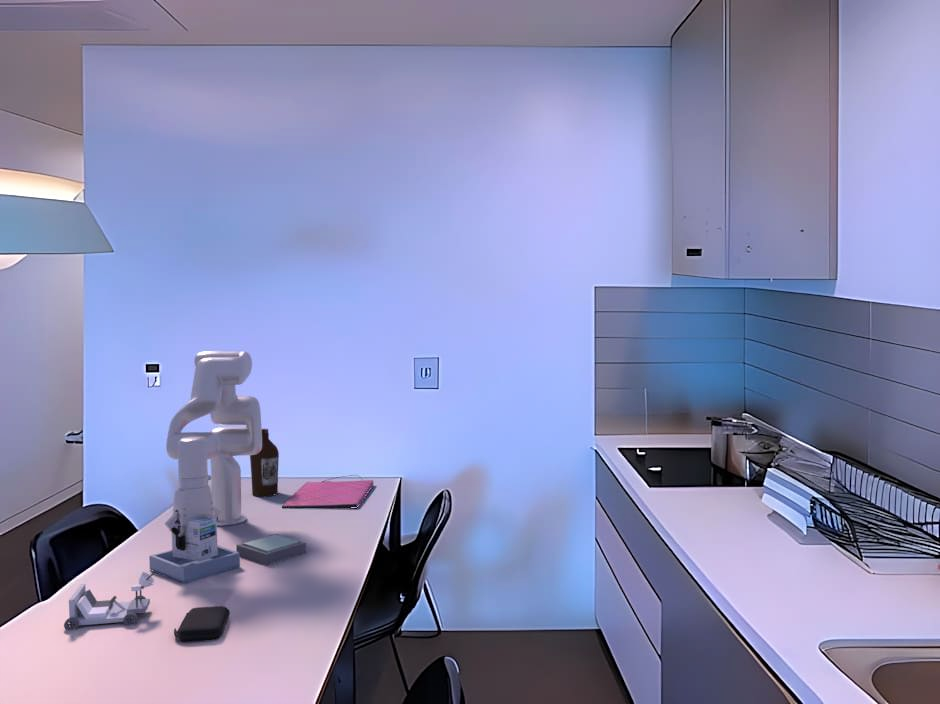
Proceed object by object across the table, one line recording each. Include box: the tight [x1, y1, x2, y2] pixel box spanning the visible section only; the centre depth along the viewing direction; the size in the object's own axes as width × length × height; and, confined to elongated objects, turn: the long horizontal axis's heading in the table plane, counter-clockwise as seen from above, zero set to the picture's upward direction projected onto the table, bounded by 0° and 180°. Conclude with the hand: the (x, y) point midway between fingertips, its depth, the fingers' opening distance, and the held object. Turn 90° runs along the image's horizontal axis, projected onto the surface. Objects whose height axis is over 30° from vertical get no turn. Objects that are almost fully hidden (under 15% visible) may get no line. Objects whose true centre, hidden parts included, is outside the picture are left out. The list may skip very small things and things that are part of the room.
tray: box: [148, 544, 241, 585], centre depth 215 cm, size 17×17×4 cm
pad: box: [243, 534, 299, 553], centre depth 228 cm, size 11×11×2 cm
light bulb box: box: [171, 517, 218, 562], centre depth 215 cm, size 11×7×11 cm, turn 64°
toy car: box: [63, 571, 156, 631], centre depth 182 cm, size 18×10×12 cm
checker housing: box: [235, 533, 307, 566], centre depth 228 cm, size 14×14×3 cm
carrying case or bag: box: [173, 605, 231, 643], centre depth 175 cm, size 11×3×15 cm
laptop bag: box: [281, 474, 374, 509], centre depth 298 cm, size 40×4×27 cm
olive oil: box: [249, 428, 280, 498], centre depth 299 cm, size 11×11×25 cm
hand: (194, 545), depth 215 cm, fingers closed on light bulb box, 7 cm apart
